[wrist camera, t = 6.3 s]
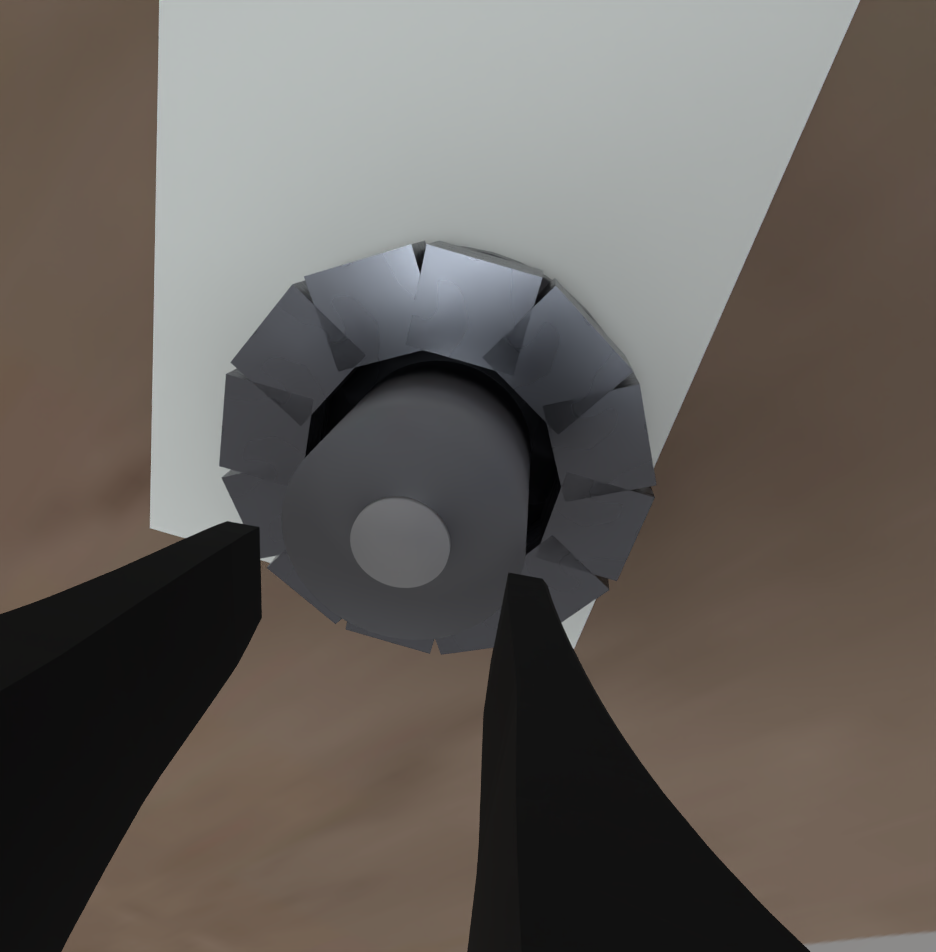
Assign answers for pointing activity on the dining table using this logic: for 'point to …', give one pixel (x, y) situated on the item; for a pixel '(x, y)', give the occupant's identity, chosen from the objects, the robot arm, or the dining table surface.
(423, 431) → the cap
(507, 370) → the toothed grey gear
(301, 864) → the dining table surface
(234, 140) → the mat
